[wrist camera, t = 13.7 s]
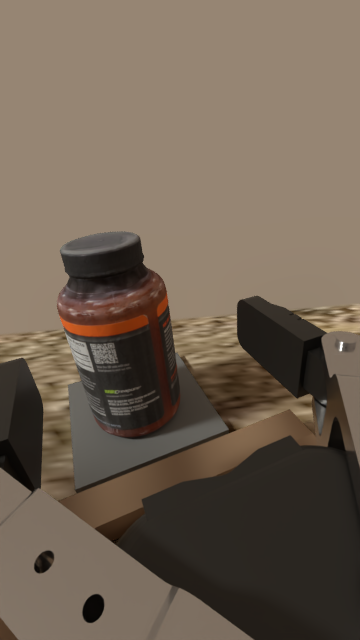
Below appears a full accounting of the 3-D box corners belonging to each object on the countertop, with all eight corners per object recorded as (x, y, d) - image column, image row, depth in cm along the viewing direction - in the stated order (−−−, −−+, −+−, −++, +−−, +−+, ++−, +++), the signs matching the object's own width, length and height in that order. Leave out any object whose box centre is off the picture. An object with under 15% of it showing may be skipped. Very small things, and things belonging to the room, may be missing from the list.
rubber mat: (77, 495, 16) (75, 489, 15) (69, 389, 23) (68, 384, 23) (228, 435, 18) (228, 429, 18) (177, 357, 26) (176, 352, 25)
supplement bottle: (161, 368, 24) (139, 221, 18) (197, 417, 19) (181, 239, 13) (86, 395, 22) (36, 240, 16) (104, 459, 17) (42, 268, 11)
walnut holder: (-95, 1270, 5) (-154, 1343, 4) (2, 545, 14) (-11, 528, 13) (524, 688, 9) (548, 673, 8) (287, 427, 18) (289, 409, 18)
